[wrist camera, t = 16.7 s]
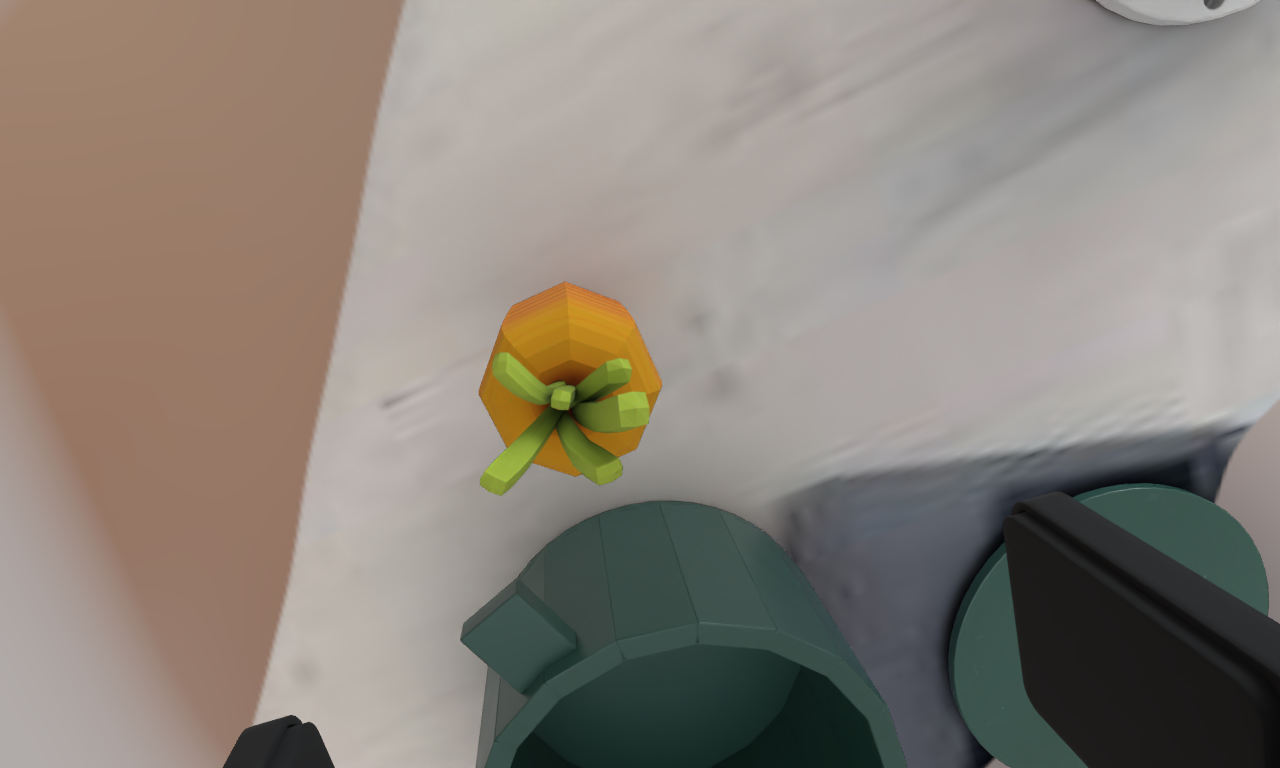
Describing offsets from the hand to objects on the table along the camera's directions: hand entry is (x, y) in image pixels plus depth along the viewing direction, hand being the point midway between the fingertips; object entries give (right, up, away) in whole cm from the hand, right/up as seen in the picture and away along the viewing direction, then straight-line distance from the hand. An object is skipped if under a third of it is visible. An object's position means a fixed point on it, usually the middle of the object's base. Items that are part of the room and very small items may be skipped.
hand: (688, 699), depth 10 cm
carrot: (-4, +7, +21) cm, 22 cm away
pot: (0, -8, +25) cm, 26 cm away
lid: (+21, -8, +27) cm, 35 cm away
